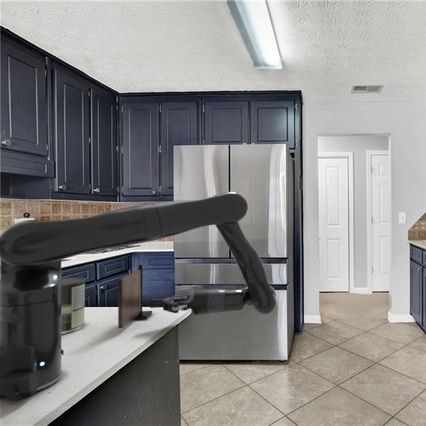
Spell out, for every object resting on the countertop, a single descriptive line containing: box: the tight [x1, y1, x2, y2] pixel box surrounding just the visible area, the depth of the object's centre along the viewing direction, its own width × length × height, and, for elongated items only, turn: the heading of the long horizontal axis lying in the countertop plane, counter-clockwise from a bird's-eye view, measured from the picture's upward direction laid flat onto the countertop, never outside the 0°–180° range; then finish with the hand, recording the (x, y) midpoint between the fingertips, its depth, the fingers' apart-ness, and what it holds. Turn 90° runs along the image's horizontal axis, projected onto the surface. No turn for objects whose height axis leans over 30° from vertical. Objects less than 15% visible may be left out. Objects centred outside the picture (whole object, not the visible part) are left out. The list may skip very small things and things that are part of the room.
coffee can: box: [61, 277, 86, 335], centre depth 88 cm, size 10×10×14 cm
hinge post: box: [132, 264, 153, 321], centre depth 98 cm, size 5×6×17 cm
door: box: [117, 269, 141, 329], centre depth 92 cm, size 13×1×14 cm, turn 10°
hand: (150, 303), depth 90 cm, fingers closed
